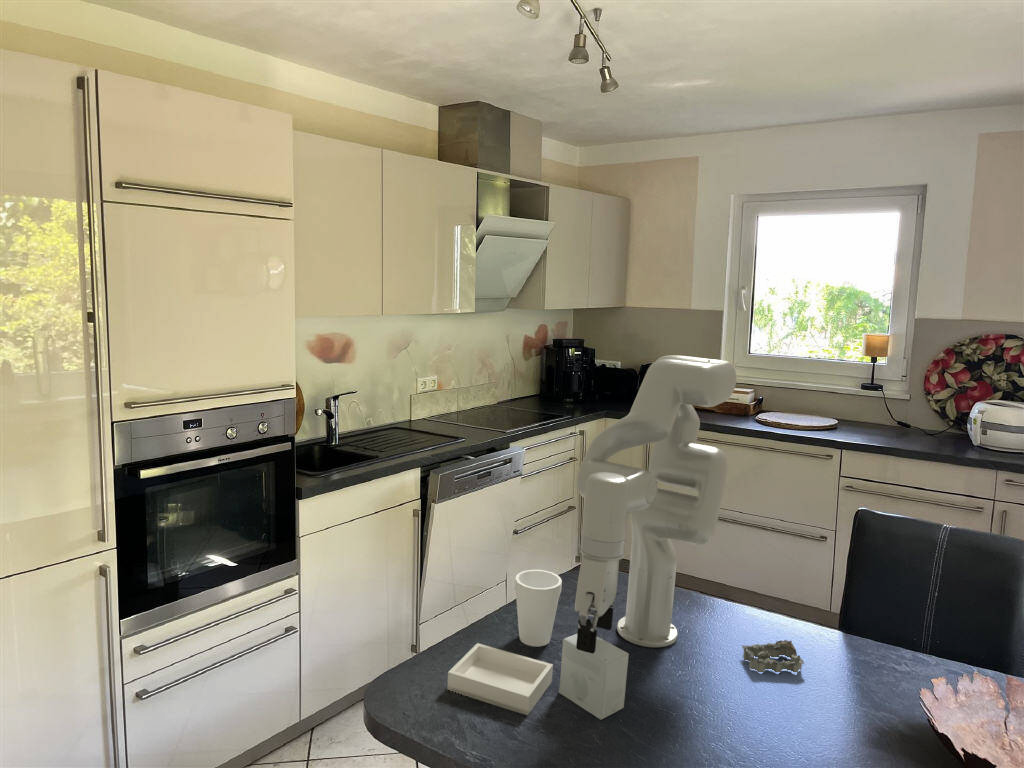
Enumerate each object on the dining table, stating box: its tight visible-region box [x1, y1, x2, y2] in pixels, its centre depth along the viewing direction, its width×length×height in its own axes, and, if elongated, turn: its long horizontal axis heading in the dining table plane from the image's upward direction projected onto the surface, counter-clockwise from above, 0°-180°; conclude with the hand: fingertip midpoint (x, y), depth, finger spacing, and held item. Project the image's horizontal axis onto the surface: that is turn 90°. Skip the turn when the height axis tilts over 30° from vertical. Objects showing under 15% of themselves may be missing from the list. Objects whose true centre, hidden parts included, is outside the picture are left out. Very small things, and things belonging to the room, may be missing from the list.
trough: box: [447, 642, 554, 716], centre depth 134 cm, size 12×16×4 cm
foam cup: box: [514, 569, 563, 648], centre depth 151 cm, size 10×9×13 cm
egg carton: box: [741, 639, 805, 673], centre depth 146 cm, size 11×8×4 cm
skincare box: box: [558, 633, 630, 720], centre depth 131 cm, size 10×6×10 cm, turn 42°
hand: (594, 639), depth 129 cm, fingers open, 9 cm apart
